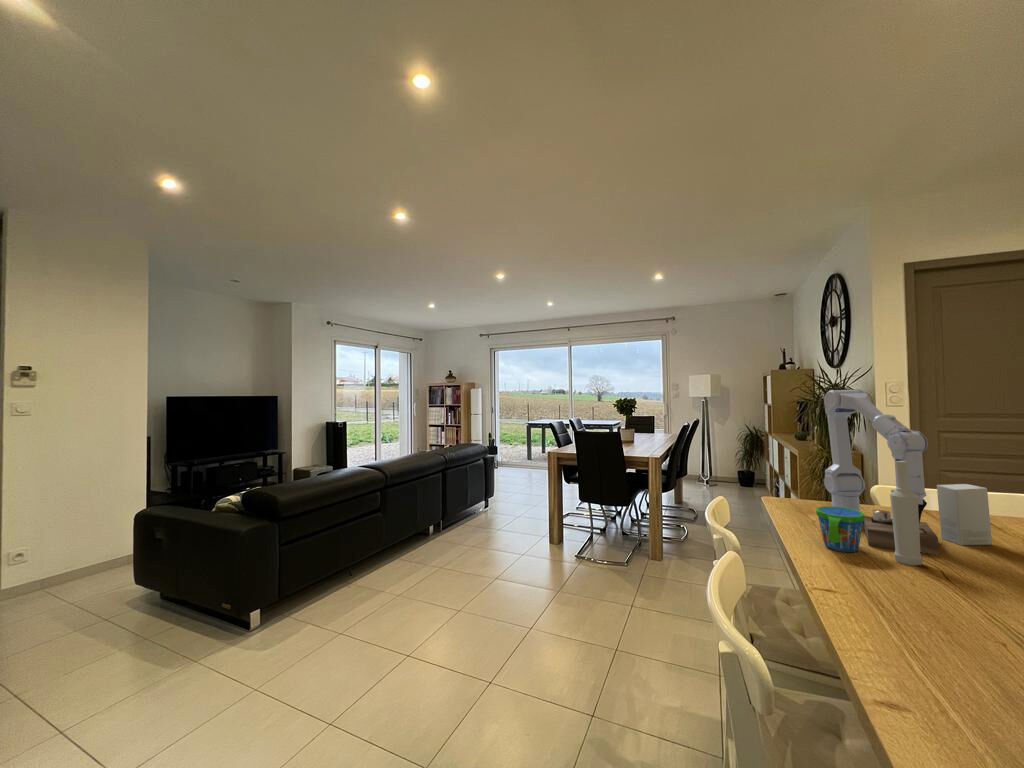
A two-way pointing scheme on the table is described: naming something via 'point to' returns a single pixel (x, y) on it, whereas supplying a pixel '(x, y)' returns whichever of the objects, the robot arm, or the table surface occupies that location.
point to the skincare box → (964, 514)
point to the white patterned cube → (882, 517)
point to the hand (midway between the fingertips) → (912, 525)
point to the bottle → (905, 520)
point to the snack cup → (840, 527)
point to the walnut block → (885, 536)
